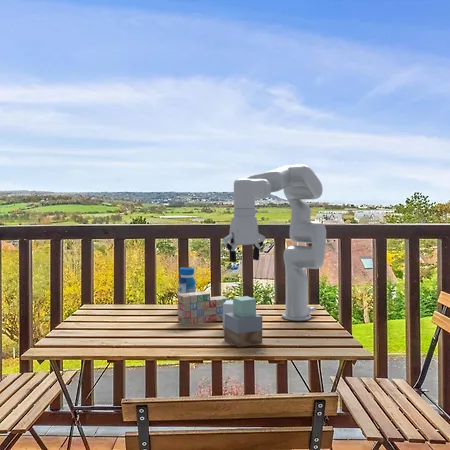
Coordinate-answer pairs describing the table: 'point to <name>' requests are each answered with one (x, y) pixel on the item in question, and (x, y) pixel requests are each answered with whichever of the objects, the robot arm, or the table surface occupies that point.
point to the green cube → (244, 306)
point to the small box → (227, 309)
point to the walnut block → (242, 337)
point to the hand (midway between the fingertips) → (244, 260)
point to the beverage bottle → (186, 281)
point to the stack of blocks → (199, 308)
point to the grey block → (243, 323)
